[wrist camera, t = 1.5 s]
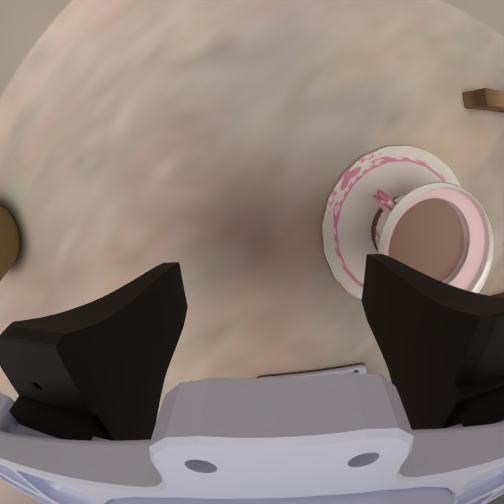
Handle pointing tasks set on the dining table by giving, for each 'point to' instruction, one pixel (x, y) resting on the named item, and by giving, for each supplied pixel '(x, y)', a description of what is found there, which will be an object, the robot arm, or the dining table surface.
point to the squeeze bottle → (7, 241)
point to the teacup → (406, 220)
